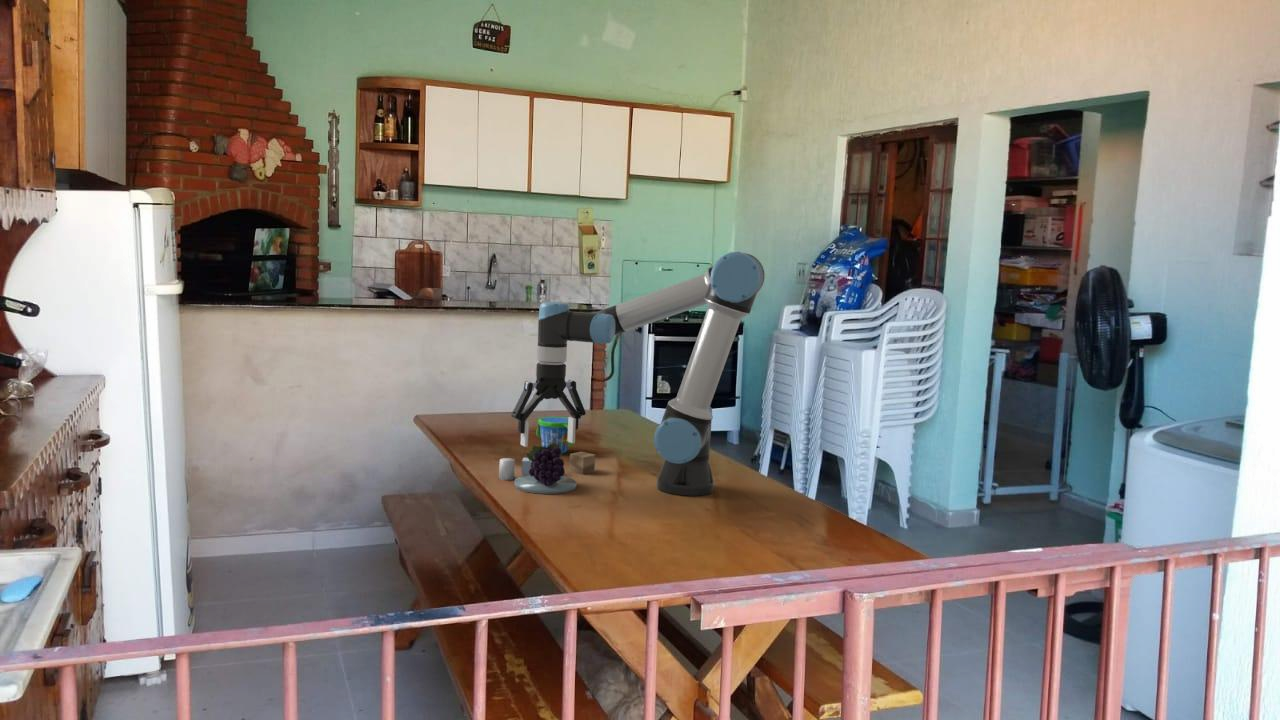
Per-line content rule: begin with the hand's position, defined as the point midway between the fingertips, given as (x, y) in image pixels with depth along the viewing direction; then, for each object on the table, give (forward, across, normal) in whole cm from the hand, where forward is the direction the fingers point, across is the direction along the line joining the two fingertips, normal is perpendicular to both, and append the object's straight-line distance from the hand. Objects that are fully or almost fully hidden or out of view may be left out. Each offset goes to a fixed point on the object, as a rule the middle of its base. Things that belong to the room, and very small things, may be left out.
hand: (547, 444), depth 242 cm
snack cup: (+11, -21, -35) cm, 42 cm away
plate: (+11, 0, 0) cm, 11 cm away
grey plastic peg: (+11, +6, -11) cm, 17 cm away
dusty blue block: (+11, -4, -13) cm, 18 cm away
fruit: (+10, 0, 0) cm, 10 cm away
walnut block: (+11, -17, -11) cm, 23 cm away
